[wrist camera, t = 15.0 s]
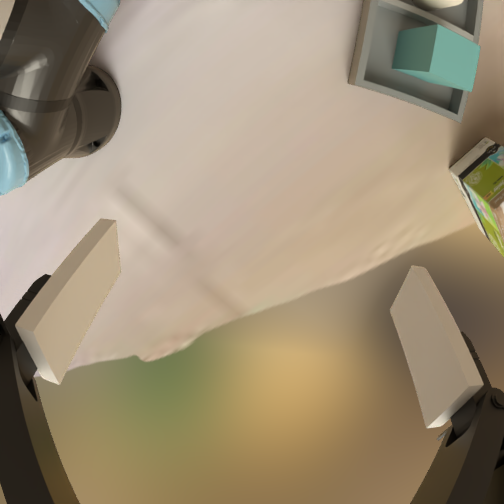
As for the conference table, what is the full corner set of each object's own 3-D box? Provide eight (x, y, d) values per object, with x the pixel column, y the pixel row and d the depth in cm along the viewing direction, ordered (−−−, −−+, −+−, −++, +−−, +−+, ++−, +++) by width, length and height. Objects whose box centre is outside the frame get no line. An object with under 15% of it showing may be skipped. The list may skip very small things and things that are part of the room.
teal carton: (391, 68, 35) (429, 72, 25) (398, 31, 32) (438, 24, 22) (427, 82, 36) (471, 92, 26) (435, 46, 32) (480, 46, 22)
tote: (347, 83, 38) (354, 85, 35) (371, -51, 26) (379, -60, 23) (448, 117, 39) (460, 123, 36) (470, -7, 26) (484, -10, 23)
